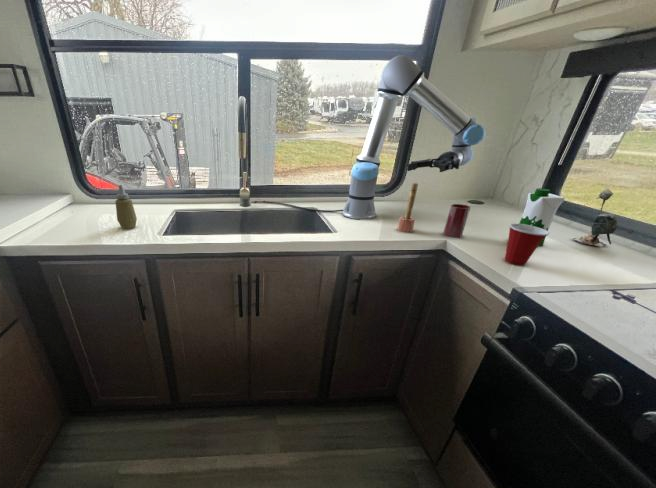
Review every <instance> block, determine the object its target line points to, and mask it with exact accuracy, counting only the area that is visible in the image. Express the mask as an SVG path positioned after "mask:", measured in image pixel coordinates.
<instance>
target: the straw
mask: <svg viewBox="0 0 656 488" xmlns="http://www.w3.org/2000/svg"><path fill="white" fill-rule="evenodd" d="M418 187H419V183H417V182H412V183H411V188H410V191H409V197H408V202H407V206H406V211H405V215H404V216H405V219H410V218H411V217H412V214H413V209H414V204H415V200H416V197H417V192H418Z"/></svg>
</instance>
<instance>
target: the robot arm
mask: <svg viewBox="0 0 656 488" xmlns="http://www.w3.org/2000/svg"><path fill="white" fill-rule="evenodd" d="M376 94H377V96H378V99H377V102H376V104H375V109H374V111H373V115H372V118H371V121H370V124H369V127H368V131H367V134H366V137H365V140H364V143H363V147H362V150H361V153H360V154H359V155H357V156H356V159H355V162H354V164H353V166H352V169H351V174H350V183H349V191H348V198H347V201H346V203H345V204H344V208H343V209H334V210H333V209H331V210H328V209H327V210H325V209H324V210H323V209H313V208H309V207H303V206H298V205H294V204H289V203H285V202H278V201H268V200H264V201H261V202H262V203H266V204H276V205H283V206H288V207H292V208H296V209H300V210H306V211H311V212H312V211H313V212H320V213H321V212H322V213H323V212H324V213H337V212H342V216H343V217H345V218H347V219H348V218H349V219H353V220H370V219H374V218H375V217H376V207H375V193H376V189H377V182H378V176H379V173H380V171H379V169H380V165H381V163H382V162H381V160H380V155H381V153H382V150H383V147H384V144H385V141H386V138H387V135H388V133H389V129H390V127H391V123H392V121H393V117H394V114H395V112H396V108H397V105H398V103H399V101H401V99H404V97H410V98H411V99H412V100H414V101H415V102H416V104H418V105H419V106H420V107H421V108H423V109H424V110H425V111H426V112H427V113H428V114H429V115H431V116H432V117H433V118H434V119H435V120H437V121H438V122H439V123H440V124H441V125H442V126H443V127H445V128H446V129H447V130H448V131H449V132H450V133H452V134H453V137H452V145H451V150H448V151H445V152H442V153H441V154H439V156H438V157H436V158H427V159H421V160H420V159H419V160H414V161H411V162H410V163H408V164H407V167H406V168H407V169H406V171H407V172H411V171H416V169H420V168H430V169H431V168H436V169H437V168H438V169H439V173H443V172H446V171H449V170H450V171H451V170H454V169H455V170H460V167H462V166H465V165H466V164H469V162H471V160H472V159H473V158H474V152H473V149H472V146H475V145H478V144H480V143H482V141H483V140H484V138H485V136H486V129H485V127H484V126H482V125H481V124H478V123H477V122H476V118H475V117H470V116H469V115H468V114H467V113H465V112H464V110H462V109H461V108H460V107H459V106H458V105H456V103H454V101H452V100H451V99H449V97H447V95H445V94H444V93H443V92H442V91H441V90H439V89H438V87H436V86H435V85H434V84H433V83H432V82H430V80H428V79H427V78H426V77H425V72H424V71H423V70H422V69H421V68H420V67H419V66H418V65H417V64H416V63H415V62H414V61H413V60H412V58H410V57H409V56H407V55H404V54H400V55H396V56H394V57H392V58H391V59H390V60H389V61H388V62H387V63H386V65H385V66H384V67H383V70H382V72H381V76H380V81H379V84H378V87H377V91H376ZM257 202H259V201H256V200H254V202H253V203H254V204H256V203H257Z"/></svg>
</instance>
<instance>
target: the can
mask: <svg viewBox="0 0 656 488" xmlns="http://www.w3.org/2000/svg"><path fill="white" fill-rule="evenodd" d="M471 207H472V206H470V205H467V204H460V203H454V204H453V203H452V204H450V207H449V211H448V213H447V217H446V222H445V225H444V228H443V232H442V235H443V236H444V237H448V238H454V239H455V238H457V239H461V238H462V236H463V234H464V230H465V227H466V224H467V222H468V217H469V214H470V211H471Z"/></svg>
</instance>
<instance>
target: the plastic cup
mask: <svg viewBox="0 0 656 488" xmlns="http://www.w3.org/2000/svg"><path fill="white" fill-rule="evenodd" d="M508 227H509V232H508V239H507V242H506V248H505V256H504V261H505V262H507V263H508V264H510V265H515V266H524V265H526V263H528V261H529V259H530V258H531V257H532V255H533V254H534V253H535V251H536V250H537V248H538V247H539V246H538V245H539V244H540V242H541V241H542V240H543V239H544V238H545V237H547V236H549V235H550V231H549V230H548V231H546V230H544V229H542V228H538V227H535V226H531V225H525V224H519V223H515V222H514V223H510V224H509V225H508ZM545 239H546V238H545Z"/></svg>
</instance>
